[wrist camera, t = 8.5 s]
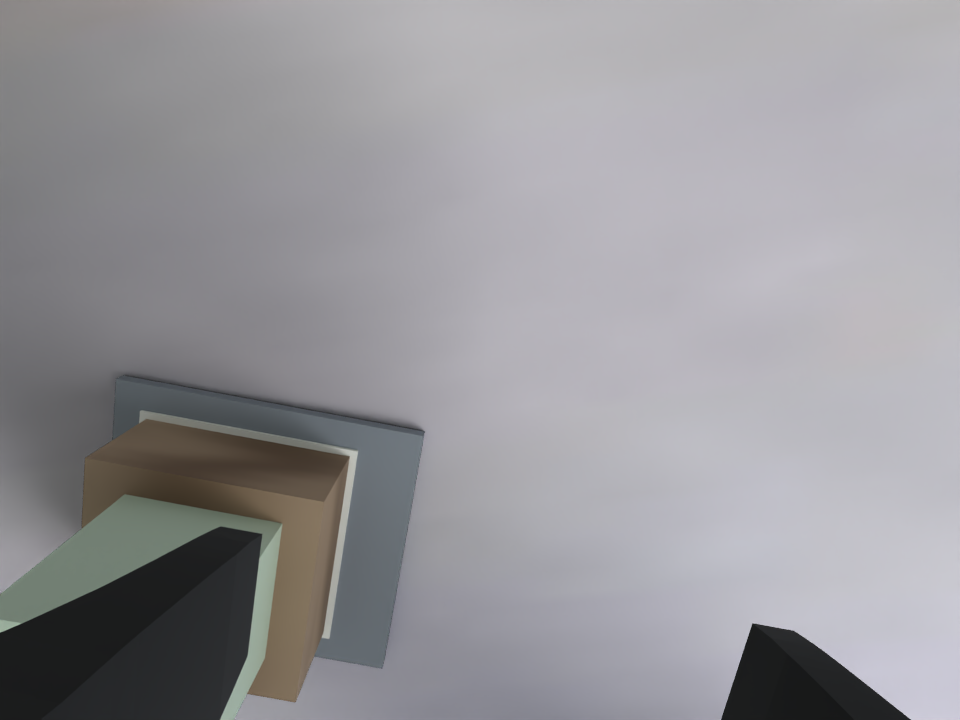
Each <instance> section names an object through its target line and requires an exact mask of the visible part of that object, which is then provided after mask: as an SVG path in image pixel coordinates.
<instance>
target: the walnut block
mask: <svg viewBox="0 0 960 720" xmlns="http://www.w3.org/2000/svg"><path fill="white" fill-rule="evenodd" d="M349 459H350V456H344V455H339V454H333V453H328V452H323V451H317V450H312V449H306V448H301V447H296V446H290V445H285V444H279V443H274V442H269V441H263V440H258V439H252V438H247V437H242V436H236V435H231V434H225V433H220V432H215V431H209V430H204V429H198V428H193V427H188V426H182V425H177V424H171V423H166V422H161V421H155V420H150V419H145V420H144V421H142V422H141V423H139V424H137V425H136V426H134V427H133V428H131V429H130V430H128V431H126V432H125V433H123V434H122V435H120V436H119V437H117V438H116V439H114V440H112V441H111V442H109V443H108V444H106V445H105V446H103V447H101V448H100V449H98V450H97V451H95V452H94V453H92V454H90V455H89V456H87V457H86V458H85V468H84V489H83V509H82V528H83V527H85V526H86V525H87V524H88V523H90V522H91V521H92V520H93V519H95V518H96V517H97V516H98V515H100V514H101V513H102V512H103V511H105V510H106V509H107V508H108V507H110V506H111V505H112V504H113V503H115V502H116V501H117V500H118V499H119V498H121V497H122V496H123V495H124V494H126V495H132V496H137V497H142V498H148V499H153V500H159V501H164V502H169V503H175V504H180V505H186V506H191V507H196V508H202V509H207V510H212V511H218V512H223V513H229V514H234V515H239V516H245V517H250V518H256V519H261V520H266V521H272V522H277V523H282V531H281V538H280V546H279V554H278V561H277V569H276V577H275V584H274V592H273V600H272V607H271V615H270V623H269V631H268V638H267V646H266V654H265V659H264V661H263V663H262V665H261V667H260V669H259V671H258V673H257V675H256V677H255V679H254V681H253V683H252V685H251V687H250V689H249V691H248V693H247V694H251V695H257V696H263V697H268V698H274V699H279V700H285V701H291V702H296V700H297V697H298V695H299V692H300V690H301V687H302V685H303V682H304V680H305V677H306V675H307V672H308V670H309V667H310V665H311V662H312V660H313V657H314V655H315V652H316V650H317V647H318V645H319V642H320V640H321V637H322V635H323V632H324V626H325V619H326V612H327V606H328V599H329V593H330V586H331V579H332V573H333V566H334V559H335V553H336V546H337V539H338V533H339V526H340V519H341V513H342V506H343V499H344V493H345V486H346V479H347V473H348V466H349Z"/></svg>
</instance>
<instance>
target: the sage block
mask: <svg viewBox="0 0 960 720" xmlns="http://www.w3.org/2000/svg"><path fill="white" fill-rule="evenodd" d="M220 526H222V527H228V528H233V529H238V530H244V531H249V532H255V533H260V534H262V541H261V549H260V558H259V566H258V574H257V583H256V591H255V599H254V608H253V616H252V624H251V633H250V641H249V649H248V656H247V659H246V661H245V663H244V666H243V668H242V670H241V673H240V675H239V678H238V680H237V682H236V685H235V687H234V689H233V692H232V694H231V696H230V698H229V701H228V703H227V705H226V707H225V710H224V712H223V714H222V716H221V719H220V720H234V718H235V716H236V714H237V713H238V711H239V709H240V707H241V705H242V703H243V701H244V699H245V697H246V695H247V693H248V691H249V689H250V687H251V685H252V683H253V681H254V679H255V677H256V675H257V673H258V671H259V669H260V667H261V665H262V663H263V661H264V659H265V654H266V646H267V638H268V631H269V623H270V615H271V607H272V600H273V592H274V584H275V577H276V569H277V561H278V554H279V546H280V538H281V531H282V523H277V522H272V521H266V520H261V519H256V518H250V517H245V516H239V515H234V514H229V513H223V512H218V511H212V510H207V509H202V508H196V507H191V506H186V505H180V504H175V503H169V502H164V501H159V500H153V499H148V498H142V497H137V496H132V495H126V494H124V495H123V496H122V497H121V498H119V499H118V500H117V501H116V502H115V503H113V504H112V505H111V506H110V507H108V508H107V509H106V510H105V511H103V512H102V513H101V514H100V515H98V516H97V517H96V518H95V519H93V520H92V521H91V522H90V523H88V524H87V525H86V526H85V527H83V528H82V529H81V530H80V531H78V532H77V533H76V534H75V535H73V536H72V537H71V538H70V539H68V540H67V541H66V542H65V543H63V544H62V545H61V546H60V547H58V548H57V549H56V550H55V551H53V552H52V553H51V554H50V555H48V556H47V557H46V558H45V559H44V560H42V561H41V562H40V563H39V564H37V565H36V566H35V567H34V568H32V569H31V570H30V571H29V572H27V573H26V574H25V575H24V576H22V577H21V578H20V579H19V580H17V581H16V582H15V583H14V584H12V585H11V586H10V587H9V588H7V589H6V590H5V591H4V592H2V593H1V594H0V632H3V631H5V630H8V629H10V628H12V627H15V626H17V625H20V624H22V623H24V622H26V621H29V620H31V619H33V618H35V617H37V616H39V615H42V614H44V613H46V612H48V611H50V610H52V609H55V608H57V607H59V606H61V605H63V604H65V603H68V602H70V601H72V600H74V599H76V598H78V597H81V596H83V595H85V594H87V593H89V592H92V591H94V590H96V589H98V588H100V587H102V586H104V585H106V584H108V583H110V582H112V581H114V580H116V579H118V578H120V577H122V576H124V575H126V574H128V573H130V572H132V571H134V570H136V569H138V568H139V567H141V566H143V565H145V564H147V563H149V562H151V561H153V560H155V559H157V558H159V557H161V556H163V555H165V554H166V553H168V552H170V551H172V550H174V549H176V548H178V547H180V546H182V545H184V544H185V543H187V542H189V541H191V540H193V539H195V538H197V537H199V536H201V535H203V534H205V533H207V532H209V531H211V530H213V529H215V528H218V527H220Z"/></svg>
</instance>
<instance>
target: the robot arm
mask: <svg viewBox="0 0 960 720" xmlns="http://www.w3.org/2000/svg"><path fill="white" fill-rule="evenodd" d="M261 541H262V534H260V533H255V532H249V531H244V530H238V529H233V528H228V527H222V526H220V527H218V528H215V529H213V530H211V531H209V532H207V533H205V534H203V535H201V536H199V537H197V538H195V539H193V540H191V541H189V542H187V543H185V544H184V545H182V546H180V547H178V548H176V549H174V550H172V551H170V552H168V553H166V554H165V555H163V556H161V557H159V558H157V559H155V560H153V561H151V562H149V563H147V564H145V565H143V566H141V567H139V568H138V569H136V570H134V571H132V572H130V573H128V574H126V575H124V576H122V577H120V578H118V579H116V580H114V581H112V582H110V583H108V584H106V585H104V586H102V587H100V588H98V589H96V590H94V591H92V592H89V593H87V594H85V595H83V596H81V597H78V598H76V599H74V600H72V601H70V602H68V603H65V604H63V605H61V606H59V607H57V608H55V609H52V610H50V611H48V612H46V613H44V614H42V615H39V616H37V617H35V618H33V619H31V620H29V621H26V622H24V623H22V624H20V625H17V626H15V627H12V628H10V629H8V630H5V631H3V632H0V720H220V719H221V716H222V714H223V712H224V710H225V707H226V705H227V703H228V701H229V698H230V696H231V694H232V692H233V689H234V687H235V685H236V682H237V680H238V678H239V675H240V673H241V670H242V668H243V666H244V663H245V661H246V659H247V656H248V649H249V641H250V633H251V624H252V616H253V608H254V599H255V591H256V583H257V574H258V566H259V558H260V549H261ZM721 720H910V719H909V718H908V717H907V716H905V715H904V714H903V713H902V712H900V711H899V710H898V709H896V708H895V707H894V706H893V705H891V704H890V703H889V702H888V701H886V700H885V699H884V698H883V697H881V696H880V695H879V694H878V693H876V692H875V691H874V690H873V689H871V688H870V687H869V686H867V685H866V684H865V683H864V682H862V681H861V680H860V679H859V678H857V677H856V676H855V675H854V674H852V673H851V672H850V671H848V670H847V669H846V668H845V667H843V666H842V665H841V664H839V663H838V662H837V661H836V660H834V659H833V658H832V657H830V656H829V655H828V654H826V653H825V652H824V651H822V650H821V649H820V648H818V647H817V646H816V645H814V644H813V643H811V642H810V641H808V640H807V639H805V638H804V637H802V636H801V635H799V634H798V633H796V632H795V631H791V630H786V629H780V628H775V627H769V626H764V625H758V624H752V627H751V630H750V633H749V636H748V639H747V642H746V645H745V648H744V651H743V654H742V657H741V660H740V664H739V667H738V670H737V673H736V676H735V679H734V682H733V685H732V688H731V691H730V694H729V697H728V700H727V703H726V706H725V709H724V713H723V716H722V719H721Z"/></svg>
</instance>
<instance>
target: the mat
mask: <svg viewBox="0 0 960 720" xmlns="http://www.w3.org/2000/svg"><path fill="white" fill-rule="evenodd" d="M145 419H150V420H155V421H161V422H166V423H171V424H177V425H182V426H188V427H193V428H198V429H204V430H209V431H215V432H220V433H225V434H231V435H236V436H242V437H247V438H252V439H258V440H263V441H269V442H274V443H279V444H285V445H290V446H296V447H301V448H306V449H312V450H317V451H323V452H328V453H333V454H339V455H344V456H350V459H349V466H348V473H347V479H346V486H345V493H344V499H343V506H342V513H341V519H340V526H339V533H338V539H337V546H336V553H335V559H334V566H333V573H332V579H331V586H330V593H329V599H328V606H327V612H326V619H325V626H324V632H323V635H322V637H321V640H320V642H319V645H318V647H317V650H316V652H315V655H314V656H315V657H321V658H326V659H332V660H337V661H343V662H348V663H354V664H360V665H365V666H371V667H376V668H382V667H383V663H384V658H385V653H386V647H387V641H388V636H389V630H390V625H391V619H392V613H393V608H394V602H395V596H396V591H397V585H398V579H399V574H400V568H401V563H402V557H403V551H404V546H405V540H406V534H407V529H408V523H409V517H410V512H411V506H412V500H413V495H414V489H415V484H416V478H417V472H418V467H419V461H420V455H421V450H422V444H423V438H424V433H425V431H419V430H414V429H409V428H403V427H398V426H393V425H387V424H382V423H376V422H371V421H366V420H360V419H355V418H350V417H344V416H339V415H333V414H328V413H323V412H317V411H312V410H307V409H301V408H296V407H291V406H285V405H280V404H274V403H269V402H264V401H258V400H253V399H248V398H242V397H237V396H231V395H226V394H221V393H215V392H210V391H205V390H199V389H194V388H189V387H183V386H178V385H172V384H167V383H162V382H156V381H151V380H146V379H140V378H135V377H129V376H124V375H123V376H121V377H119V378H117V379H116V387H115V404H114V421H113V439H112V440H114V439H116V438H117V437H119V436H120V435H122V434H123V433H125V432H126V431H128V430H130V429H131V428H133V427H134V426H136V425H137V424H139V423H141V422H142V421H144V420H145Z"/></svg>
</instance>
